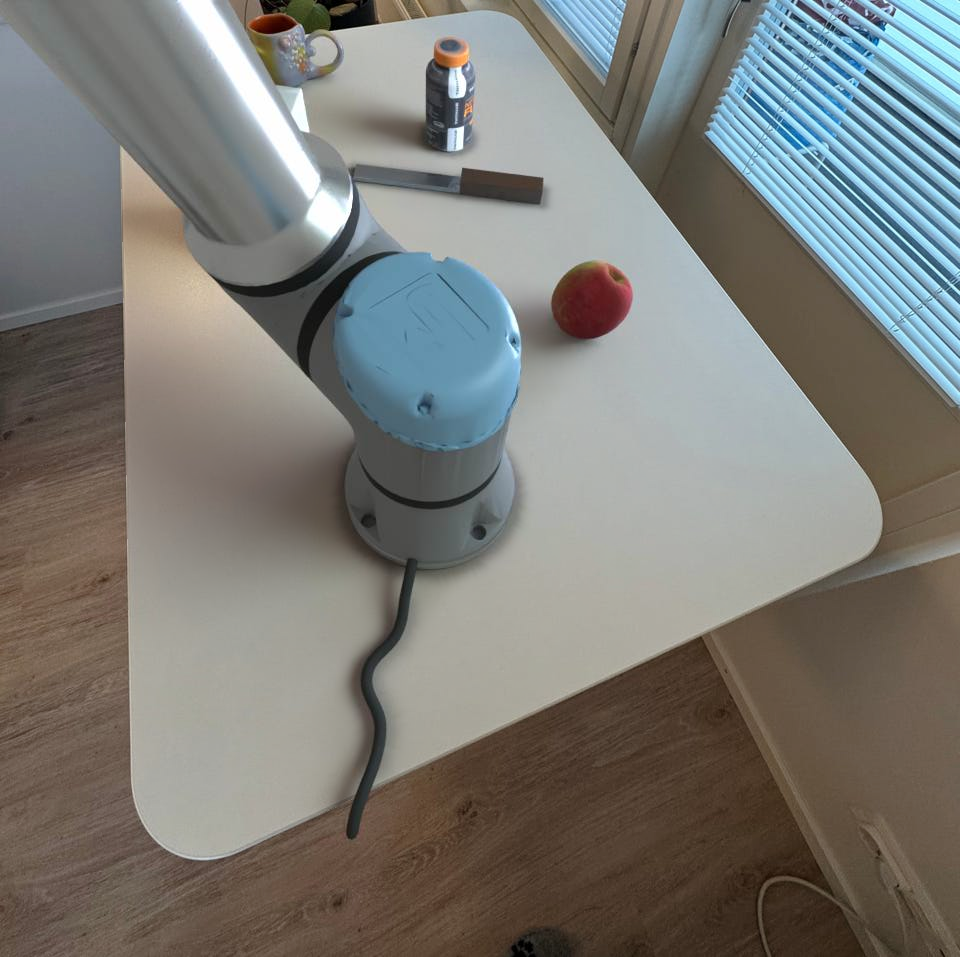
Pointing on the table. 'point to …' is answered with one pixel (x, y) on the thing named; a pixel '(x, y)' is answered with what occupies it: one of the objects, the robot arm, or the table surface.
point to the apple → (591, 300)
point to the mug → (289, 49)
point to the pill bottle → (449, 95)
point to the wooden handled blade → (459, 182)
